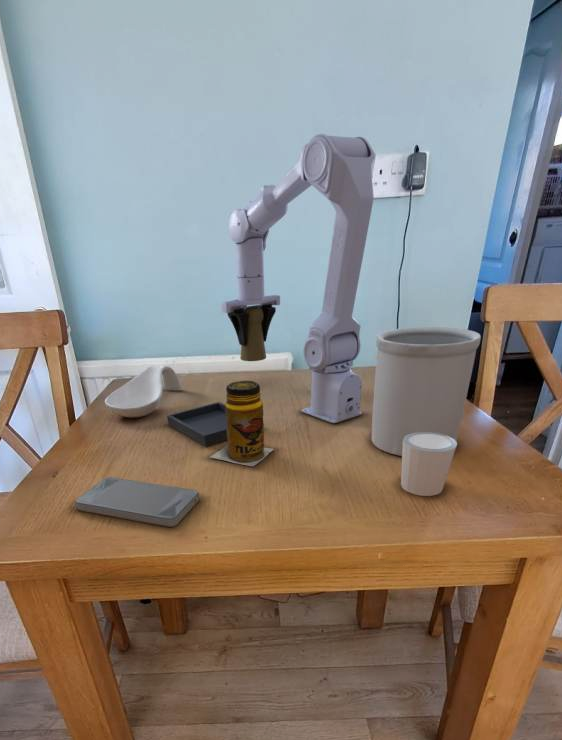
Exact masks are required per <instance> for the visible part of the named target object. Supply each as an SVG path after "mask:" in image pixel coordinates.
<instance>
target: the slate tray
mask: <svg viewBox="0 0 562 740" xmlns="http://www.w3.org/2000/svg"><path fill="white" fill-rule="evenodd" d="M225 404H226V403H224V402H221V401H217V402H216V401H215V402H213V403H209V404H205V405H201V406H198V407H193V408H190V409H185V410H182V411H178V412H175V413H171V414H167V415H166V418H167V425H168V427H171V428H172V429H174V430H175V431H177V432H179V433H181V434H182V435H185V436H186V437H188V438H189V439H191V440H192V441H195V442H196V443H198V444H200V445H202V446H203V447H205V448H206V447H207V448H208V447H210V446H212V445H216V444H219V443H222V442H225V441H227V427H226V412H225Z"/></svg>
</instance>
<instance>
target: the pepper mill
mask: <svg viewBox="0 0 562 740" xmlns="http://www.w3.org/2000/svg"><path fill="white" fill-rule="evenodd" d="M243 311H245V313H249V318H248V325H247V345H245V346H243V345H240V346H241V347H240V360H241V361H243V362H260V361H264V360H266V358H267V352H266V346H265V342H264V338H263V332H262V325H261V322H262V320H263V310H262V309H261V308H260V307H250V308H247V309H246V310H243Z"/></svg>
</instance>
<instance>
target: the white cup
mask: <svg viewBox="0 0 562 740" xmlns="http://www.w3.org/2000/svg"><path fill="white" fill-rule="evenodd" d="M457 446H458V442H456V441H455V440H454V439H453V438H451V437H449V436H446V435H443V434H439V433H432V432H417V433H411V434H409V435H406V436H405V437H404V439H403V450H402V456H401V473H400V474H401V475H400V476H401V477H400V486H401V488H402V489H403V490H404V491H406V492H407V493H409V494H412V495H415V496H421V497H432V496H436V495H439V494H441V493H442V492H443V489H444V486H445V483H446V480H447V477H448V474H449V471H450V468H451V464H452V462H453V458H454V455H455V452H456V450H457Z"/></svg>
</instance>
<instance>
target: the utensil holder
mask: <svg viewBox="0 0 562 740" xmlns="http://www.w3.org/2000/svg"><path fill="white" fill-rule="evenodd" d="M481 338H482V336H481V333H478V332H477V331H474V330H470V329H465V328H459V327H446V326H417V327H404V328H395V329H389V330H385V331H382V332H379V333H378V334H377V335H376V341H375V344H376V347H377V349H376V364H375V374H374V375H375V377H374V389H373V400H372V401H373V402H372V415H371V419H372V420H371V442H372V444H373V445H374V447H376V448H378V449H379V450H381V451H382V452H385V453H388V454H391V455H395V456H399V457H402V450H403V439H404V437H405V436H406V435H409V434H411V433H417V432H432V433H439V434H443V435H446V436H449V437H451V438H453V439H454V440H455V441H456V442H457V441H458V439H459V433H460V429H461V425H462V421H463V416H464V411H465V407H466V401H467V397H468V392H469V387H470V382H471V378H472V373H473V369H474V364H475V359H476V354H477V349H478V348H479V346H480V343H481ZM457 443H458V442H457Z"/></svg>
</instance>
